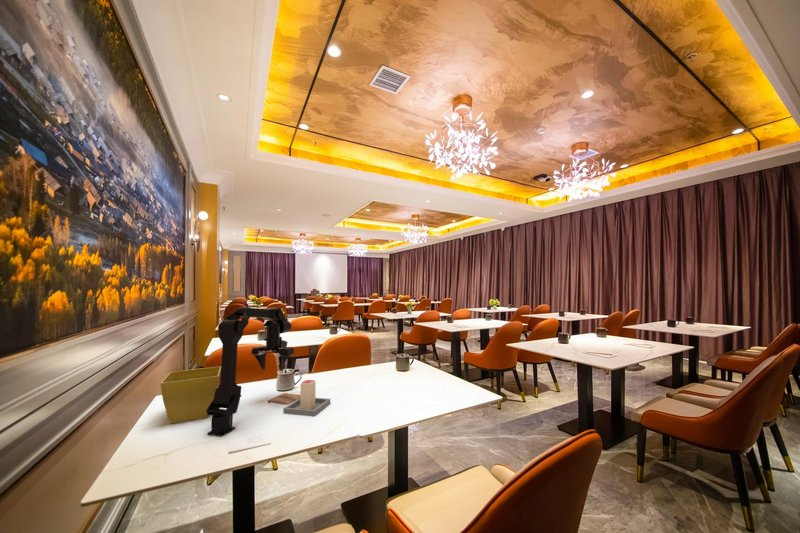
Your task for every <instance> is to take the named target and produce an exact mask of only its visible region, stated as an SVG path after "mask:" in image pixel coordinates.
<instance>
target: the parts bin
mask: <svg viewBox="0 0 800 533" xmlns="http://www.w3.org/2000/svg"><path fill="white" fill-rule="evenodd" d="M330 405H331V398H322V397H315V407H314V408H313V409H312V410H308V409H300V398H299V399H297V400H296V401H294V402H292V403H290V404H288V405H286V406H285V407H283V414H285V415H294V416H305V417H316V416H317V415H319V414H320V413H321V412H322V411H323V410H325V408H327V407H328V406H330Z"/></svg>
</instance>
